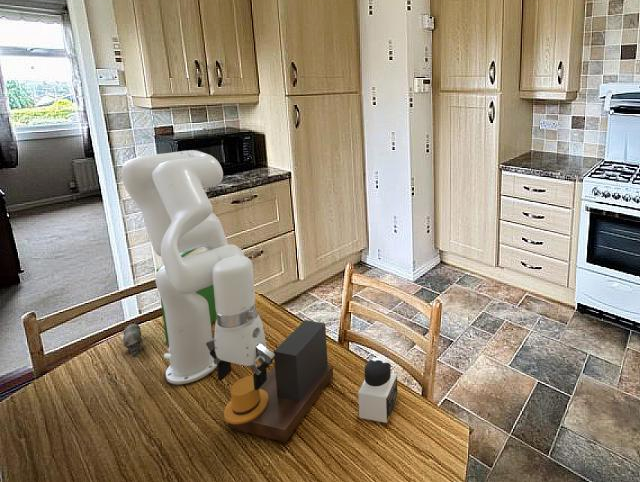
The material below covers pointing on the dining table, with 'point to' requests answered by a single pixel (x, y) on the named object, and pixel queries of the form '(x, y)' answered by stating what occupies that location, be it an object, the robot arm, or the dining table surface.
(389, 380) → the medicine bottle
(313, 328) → the dark grey block
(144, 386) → the dining table surface
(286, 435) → the brown flat slab
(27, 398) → the dining table surface
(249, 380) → the hat
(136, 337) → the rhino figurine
